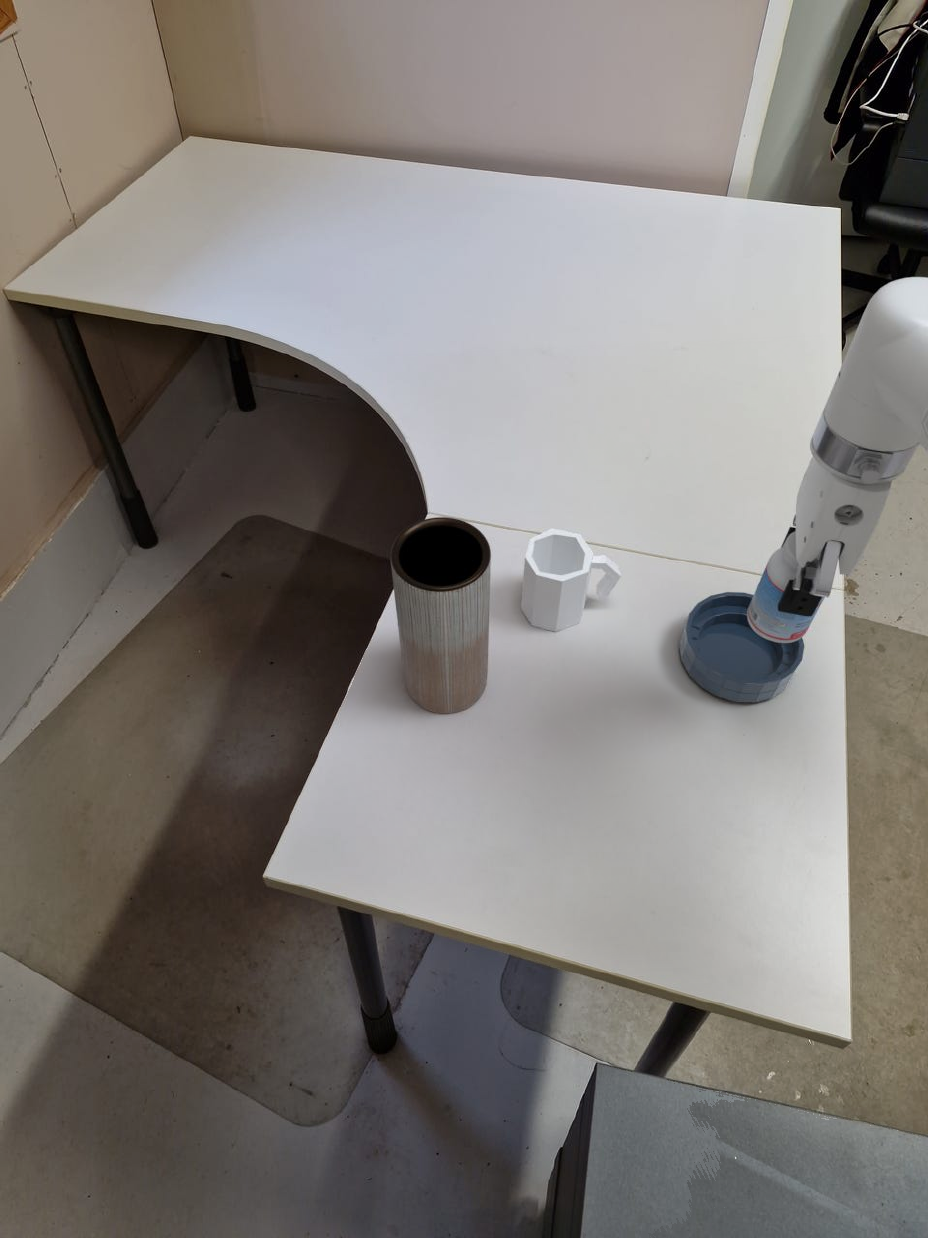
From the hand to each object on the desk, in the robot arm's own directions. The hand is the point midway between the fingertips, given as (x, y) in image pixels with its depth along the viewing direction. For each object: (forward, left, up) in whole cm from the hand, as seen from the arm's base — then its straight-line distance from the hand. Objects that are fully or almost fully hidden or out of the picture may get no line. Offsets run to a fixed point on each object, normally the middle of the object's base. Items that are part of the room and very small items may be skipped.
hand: (794, 583), depth 79 cm
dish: (-3, -6, -22) cm, 23 cm away
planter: (+32, -13, -22) cm, 41 cm away
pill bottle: (0, 0, -6) cm, 6 cm away
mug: (+14, -20, -22) cm, 33 cm away
